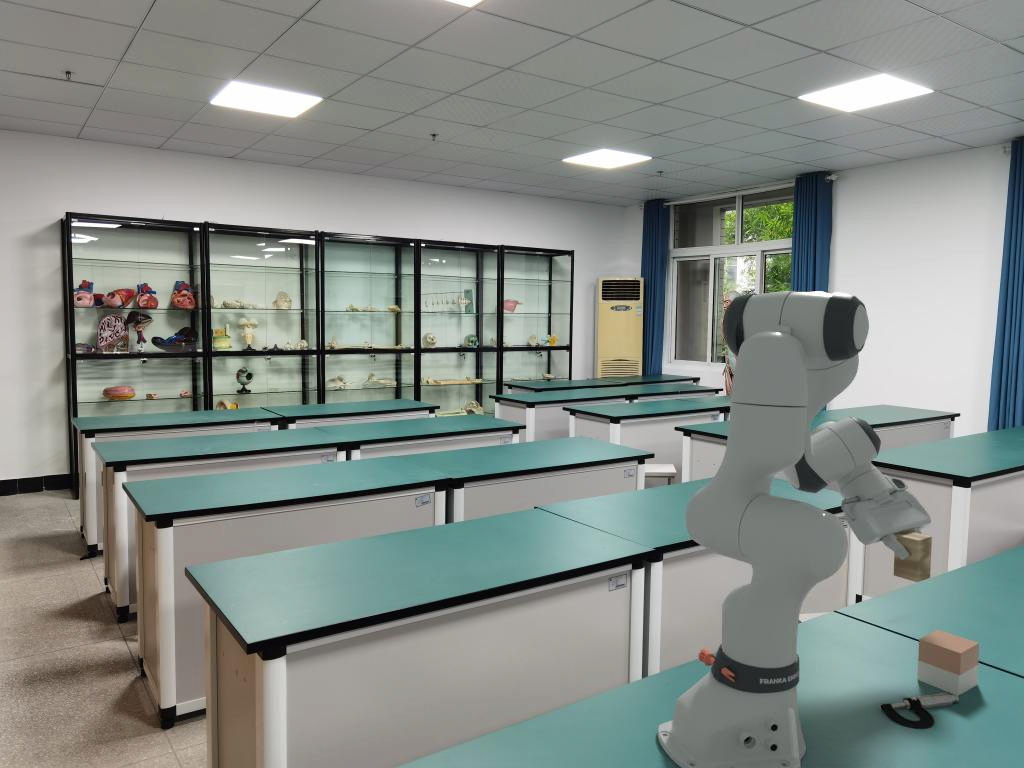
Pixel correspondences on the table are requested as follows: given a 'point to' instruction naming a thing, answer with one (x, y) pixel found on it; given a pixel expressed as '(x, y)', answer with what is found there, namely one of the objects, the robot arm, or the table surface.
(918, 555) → the oak block
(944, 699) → the micrometer
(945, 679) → the off-white tower block
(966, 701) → the table surface
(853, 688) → the table surface
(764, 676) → the robot arm
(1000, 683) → the table surface
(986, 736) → the table surface
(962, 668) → the terracotta tower block
